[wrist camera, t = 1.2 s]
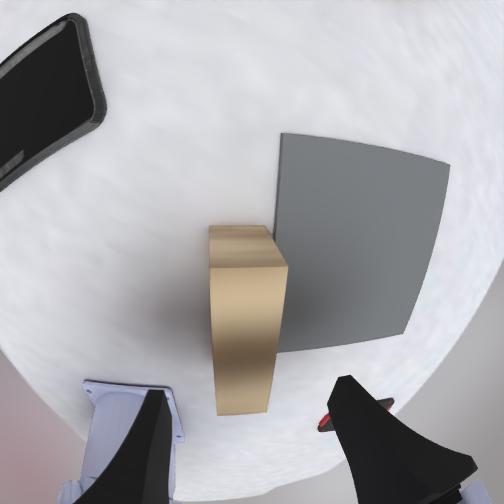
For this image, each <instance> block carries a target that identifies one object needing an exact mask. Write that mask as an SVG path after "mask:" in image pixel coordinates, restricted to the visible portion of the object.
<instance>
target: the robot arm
mask: <svg viewBox="0 0 504 504" xmlns="http://www.w3.org/2000/svg"><path fill="white" fill-rule="evenodd" d="M82 387H83V389H84V390H85V392H86V394H87V396H88V397H89V399H90V401H91V402H92V404H93V406H94V407H95V412H94V416H93V420H92V424H91V428H90V432H89V437H88V441H87V446H86V451H85V456H84V461H83V466H82V472H81V478H80V480H79V481H77V482H76V481H73V480H70V481H69V482H66V483H63V484H62V486H61V488H60V492H59V495H58V499H57V504H182V503H179V502H175V501H173V493H174V491H175V443H176V442H185V436H184V433H183V430H182V426H181V423H180V420H179V416H178V413H177V409H176V406H175V402H174V398H173V395H172V391H171V390H169V389H167V388H151V387H135V386H123V385H113V384H104V383H96V382H89V381H84V382H83V384H82ZM327 406H328V410H329V414H330V417H331V421H332V424H333V427H334V429H335V432H336V434H337V436H338V439H339V441H340V444H341V446H342V448H343V451H344V453H345V456H346V458H347V460H348V463H349V466H350V469H351V473H352V477H353V480H354V485H355V489H356V493H357V498H358V504H493V503H492V501H491V499H490V497H489V495H488V493H487V491H486V490H485V488H484V486H483V484H482V482H481V480H480V479H477V480H475V481H474V482H472V483H471V484H470V485H468V486H467V487H466V488H464V489H462V490H461V491H459V490H458V489H460V488H461V485H460V483H461V482H462V481H464V480H465V479H466V478H467V477H469V476H470V475H472V474H473V473H474V472H475V471H477V469H478V467H477V465H476V464H475V462H474V460H473V459H472V457H471V456H469V455H465V454H462V453H459V452H455V451H453V450H450V449H447V448H445V447H442V446H440V445H438V444H436V443H434V442H432V441H430V440H428V439H426V438H424V437H423V436H421V435H419V434H418V433H416V432H415V431H413V430H412V429H410V428H409V427H407V426H406V425H405V424H403V423H402V422H401V421H399V420H398V419H397V418H396V417H394V416H393V415H392V414H391V413H390V412H388V411H387V410H386V409H385V408H384V407H383V406H382V405H381V404H380V403H379V402H377V401H376V400H375V399H374V398H373V397H372V396H371V395H370V394H369V393H368V392H367V391H366V390H365V389H364V388H363V387H362V386H361V385H360V384H359V383H358V382H357V381H356V380H355V379H354V378H353V377H352V376H351V375H347V376H342V377H338V379H337V381H336V384H335V386H334V388H333V391H332V393H331V396H330V398H329V400H328V403H327Z"/></svg>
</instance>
